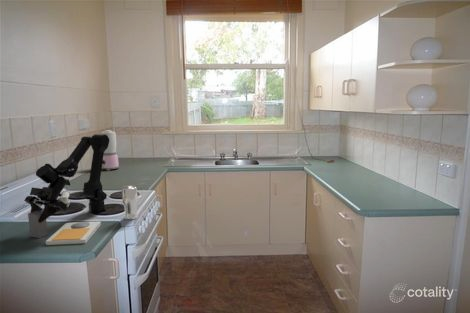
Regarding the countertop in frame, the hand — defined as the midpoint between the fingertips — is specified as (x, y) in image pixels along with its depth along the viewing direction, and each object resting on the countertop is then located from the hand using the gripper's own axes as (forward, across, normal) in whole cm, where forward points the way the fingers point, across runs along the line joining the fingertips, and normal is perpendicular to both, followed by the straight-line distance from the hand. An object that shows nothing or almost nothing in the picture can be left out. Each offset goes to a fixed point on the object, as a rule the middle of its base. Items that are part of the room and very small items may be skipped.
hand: (34, 221), depth 137 cm
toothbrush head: (-23, -28, +34) cm, 50 cm away
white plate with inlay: (-1, +13, +10) cm, 17 cm away
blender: (-80, -67, +89) cm, 137 cm away
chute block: (+4, 0, +6) cm, 7 cm away
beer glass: (-18, +23, +28) cm, 40 cm away
